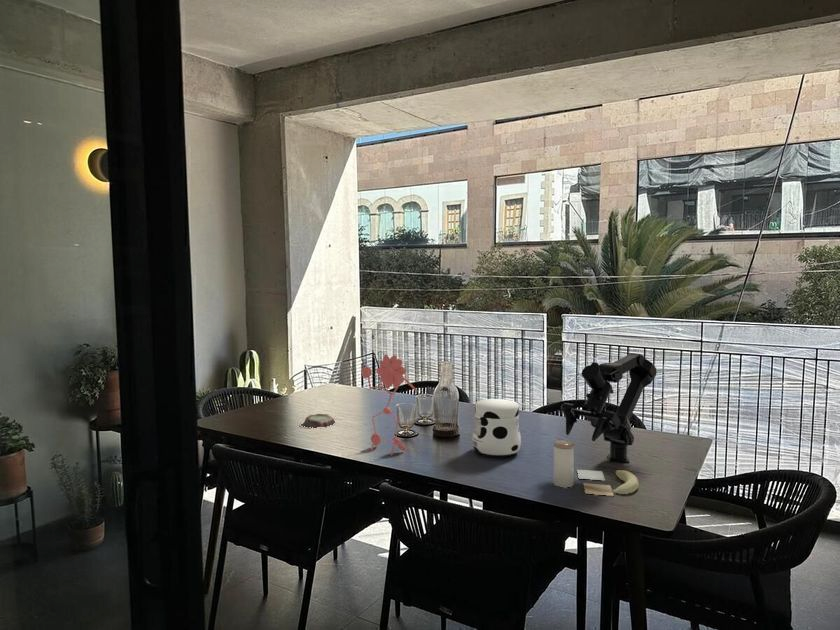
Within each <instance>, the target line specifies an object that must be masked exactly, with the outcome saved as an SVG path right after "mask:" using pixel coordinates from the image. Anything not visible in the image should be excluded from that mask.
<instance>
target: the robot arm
mask: <svg viewBox="0 0 840 630" xmlns="http://www.w3.org/2000/svg"><path fill="white" fill-rule="evenodd" d="M627 372H629V378H630V382H629V383H628V385H627V388H626V390H625V392H624V394H623V398H622V400H620V401H621V402H620V404H619V406H618V408H617V410H616V412H615V411H611V410H606V409H607V403H606V402H607V401H608V398H609V396H610V394H612V395H613V394H614V389H613V385H612V384H611V383H615V384H616V383H619V382H620V381H621V380H622V379H623V378H624V376H623V375H624V374H625V373H627ZM581 376H582V379H583V380H584V381H585V382H586V384H587V386H588V387H589V388H590V389H591V390H590V391H589V392H588V393H586V396H585V397H586V400H585V402H584V403H582V404H581V405H580V407H581V409H579V408H577V406H576V405H575V404H574V403H569V402H564V403H562V405H561V407H560V410H561V411H562V413H563V414H564V416H565V434H566V436H569V435H570V433H571V432H572V429H573V428H574V425H575V423H577V422H578V420H577V419H579V417H584V418H586V421H588V422H589V423H590V425H591V427H592V428H594V430H593V433H592V436H591V441H592V442H595V441H596V440H597V439H599V437H600V436H601V435H603V440H604V442H605V441H606V442H609V454H607V459H608V461H609V462H610V463H611V462H613V463H630V459H629V457H628V446H632V445H633V444H634V441H635V436H634V434H633V433H632V431H631V430H632V428H631V427H632V426H631V422H630V420H631V417H632V416H633V412H634V411H635V409H636V406H637V404H638V402H639V400H640V396H641V394H642V393H643V390H644V388H645V387H647V386H648V385H651V383H652V382H653V380H654V379H655V377H656V376H657V368H656V365H654V363H653V362H652V361H650V360H649V359H647V358H645V356H644V355H643V354H641V353H633V352H631V353H630V352H629V353H627V354H626V355H625V356H623V357H621V358H619V359H617V360H615V361H613V362H602V363H598V362H594V361H592V362H591V363H590V364H589V365H587V366H585V367H584V368H582V370H581Z"/></svg>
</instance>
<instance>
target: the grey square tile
mask: <svg viewBox="0 0 840 630" xmlns="http://www.w3.org/2000/svg"><path fill="white" fill-rule="evenodd" d="M576 473H578V474H577V478H579V479H590V480H589V481H592V480H601V481H600V482H606V479H605V476H604V473H603V471H602V470H589V469H588V470H587V469H576ZM579 479H578V480H579Z"/></svg>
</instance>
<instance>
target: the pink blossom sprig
mask: <svg viewBox="0 0 840 630" xmlns="http://www.w3.org/2000/svg"><path fill="white" fill-rule="evenodd" d="M402 364H403V360H402V359H401V358H397V355H396V354H393V355H392V356H391V357H390V356H388V354H384V355H383V359H380V361H379V366H380V367H379V368H377V369H376V373H377V375H379V376H380V379H379V381H380V382H381V383H383V384H382V385H381V386H371V378H370V377H371V376H372V373H373V371H372V368H370V367H369V366H368V365H367V366H365V367H363V368H362V369H361V376H362V378H364V379H367V381H368V388H369V389H380V390H383V391H385V392H387V394H389V398H388V403H387V406H385V407H384V408H383V410H382V412H379V413H377V414H376V415H373V416H372V424H373V425H372V426H373V430H374V433H372V435H371V436H370V441H371V443H372V444H371V448H370V451H371V452H372V451H373V449H374V446H375V447H377V446H378V445H380V444H381V442H383V443H384V442H385V443H386V442H387V443H388V442H389V443H393V445H392V449H391V452H390V456H393V453H394V449H395V446H397V447H398V448H399V449H400V450H402V451H403V452H404V453H405V452H406V448H405V445H406V443H405V442H403V441H400V439H398V437H397V436H398V419H397V418H396V417H395V416H394V414H393V413H392V412H391V408H390V406H389V405H390V402H391V398H392V396H394V394H395V393H396V392H397V390H398V388H399V387H400V386H401V384H403V383H404V381H405V383H406V384H408V386H409V387H411V388H412V390H414V391H415V392H417V393H418V392H419V390H417V388H416V387H415V385H413V384H412V383H411V382H410V381H409V380H408V379H406V378H405V377H404V375H405V374H406V373H407V370H406V368H405V367H404V366H402ZM392 386H393V387H394V388H395V389H393V392H391V391H390V390H388V389H390V388H391V387H392ZM383 413H384V414H385V415H389V414H391V416H392V418H394V420H395V422H396V423H395V424H396V425H395V426H396V427H395V436H394V437H393V438H392V441H390V440H383V441H382V438H381V435H380V434H379V433H377V431H376V427H375V421H374V420H375V419H374V418H375V417H377V416H379V415H381V414H383ZM407 444H408V443H407ZM408 446H410V447H412V445H410V444H408ZM405 458H406V459H407V456H406V457H404V459H405Z"/></svg>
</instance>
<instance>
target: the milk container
mask: <svg viewBox="0 0 840 630" xmlns="http://www.w3.org/2000/svg"><path fill="white" fill-rule="evenodd" d="M519 413H520V407H519V403H518V402H517V401H514V400H510V399H506V398H505V399H503V398H486V399H480V400H478V401H477V402H475V407H474V429H473V432H472V433H473V434H472V445H473V449H474V451H476V452H477V453H479V454H480V455H483V456H486V457H487V456H488V457H493V458H495V457H497V458H503V457H510V456H513V455H515V454H517V453H519V451H520V449H521V447H522V446H521V444H522V436H521V432H520V429H519V428H520V427H519V423H520V422H519V421H520V414H519Z"/></svg>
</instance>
